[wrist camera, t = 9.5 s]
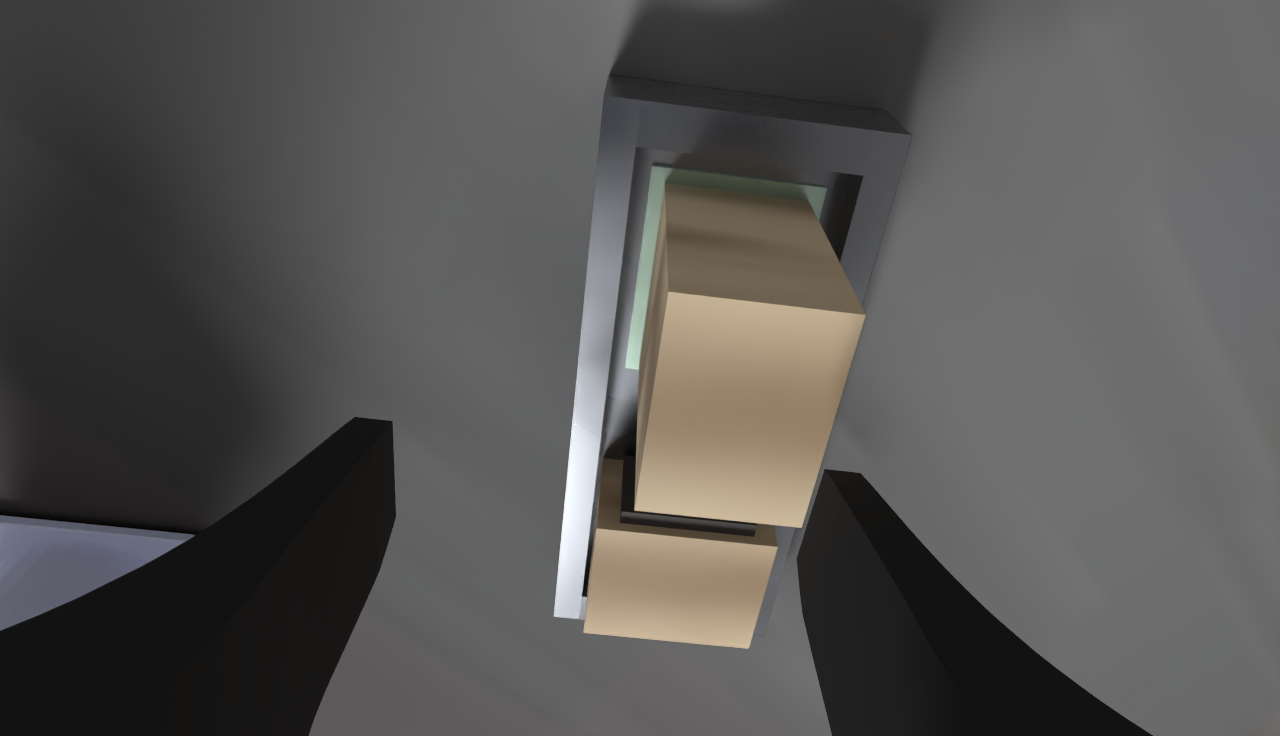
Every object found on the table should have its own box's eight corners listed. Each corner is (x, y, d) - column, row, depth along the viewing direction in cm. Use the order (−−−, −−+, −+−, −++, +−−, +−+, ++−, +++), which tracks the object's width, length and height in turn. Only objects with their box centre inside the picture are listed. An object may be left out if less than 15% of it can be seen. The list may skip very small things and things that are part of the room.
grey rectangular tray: (755, 585, 27) (763, 636, 25) (560, 565, 27) (553, 616, 25) (886, 111, 19) (912, 135, 17) (608, 74, 19) (604, 95, 17)
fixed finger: (739, 572, 26) (748, 648, 23) (590, 557, 25) (583, 632, 23) (767, 464, 23) (780, 535, 21) (604, 447, 23) (598, 516, 21)
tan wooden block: (763, 389, 22) (796, 541, 17) (637, 374, 22) (632, 525, 17) (808, 201, 19) (866, 315, 14) (664, 182, 19) (668, 291, 14)
